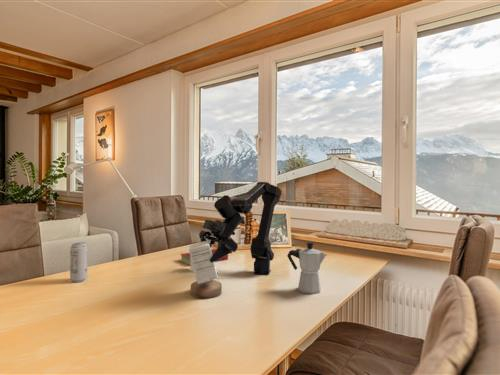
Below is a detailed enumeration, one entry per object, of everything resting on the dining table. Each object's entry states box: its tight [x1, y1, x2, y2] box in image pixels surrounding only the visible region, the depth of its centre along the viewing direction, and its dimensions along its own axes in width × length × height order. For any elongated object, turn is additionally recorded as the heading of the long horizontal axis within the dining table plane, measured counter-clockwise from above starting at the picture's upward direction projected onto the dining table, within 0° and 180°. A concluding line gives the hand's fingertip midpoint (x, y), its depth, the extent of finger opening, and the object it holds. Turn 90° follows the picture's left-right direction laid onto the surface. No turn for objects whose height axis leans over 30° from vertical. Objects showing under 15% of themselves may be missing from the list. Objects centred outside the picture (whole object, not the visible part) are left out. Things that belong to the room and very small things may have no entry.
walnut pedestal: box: [190, 279, 223, 300], centre depth 113 cm, size 11×11×3 cm
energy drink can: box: [69, 241, 88, 283], centre depth 125 cm, size 6×6×15 cm
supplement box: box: [188, 241, 218, 284], centre depth 112 cm, size 7×7×13 cm
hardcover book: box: [180, 248, 229, 266], centre depth 159 cm, size 12×21×4 cm, turn 128°
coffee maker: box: [286, 241, 328, 295], centre depth 117 cm, size 15×9×18 cm, turn 71°
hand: (203, 259), depth 112 cm, fingers closed on supplement box, 9 cm apart
